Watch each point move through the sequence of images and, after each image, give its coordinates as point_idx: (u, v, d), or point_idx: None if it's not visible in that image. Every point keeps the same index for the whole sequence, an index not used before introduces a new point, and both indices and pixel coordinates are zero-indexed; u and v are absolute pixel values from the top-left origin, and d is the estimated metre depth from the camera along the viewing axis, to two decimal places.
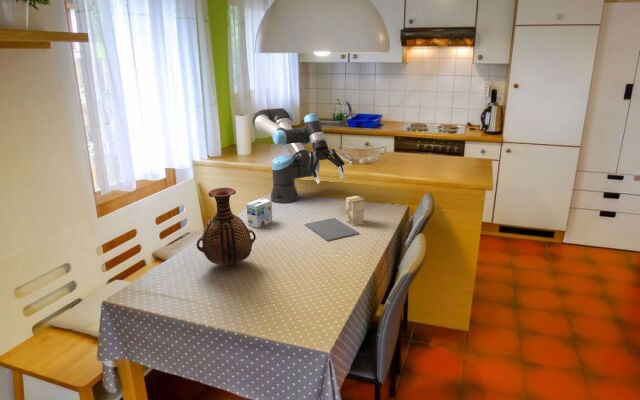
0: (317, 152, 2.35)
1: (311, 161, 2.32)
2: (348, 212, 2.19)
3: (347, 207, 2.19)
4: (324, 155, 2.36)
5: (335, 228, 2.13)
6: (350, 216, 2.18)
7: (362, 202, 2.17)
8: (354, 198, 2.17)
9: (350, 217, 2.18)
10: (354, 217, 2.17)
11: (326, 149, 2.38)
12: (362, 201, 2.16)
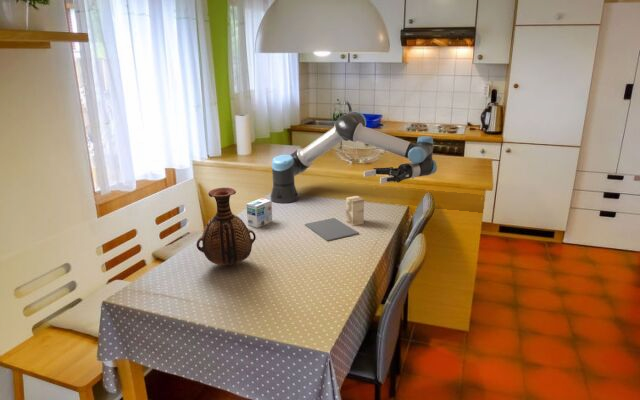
0: None
1: None
2: (348, 212, 2.19)
3: (347, 207, 2.19)
4: None
5: (335, 228, 2.13)
6: (350, 216, 2.18)
7: (362, 202, 2.17)
8: (354, 198, 2.17)
9: (350, 217, 2.18)
10: (354, 217, 2.17)
11: None
12: (362, 201, 2.16)
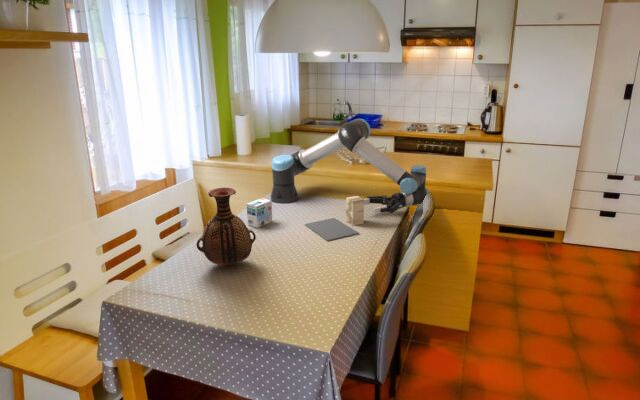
0: None
1: None
2: (348, 212, 2.19)
3: (347, 207, 2.19)
4: None
5: (335, 228, 2.13)
6: (350, 216, 2.18)
7: (362, 202, 2.17)
8: (354, 198, 2.17)
9: (350, 217, 2.18)
10: (354, 217, 2.17)
11: None
12: (362, 201, 2.16)
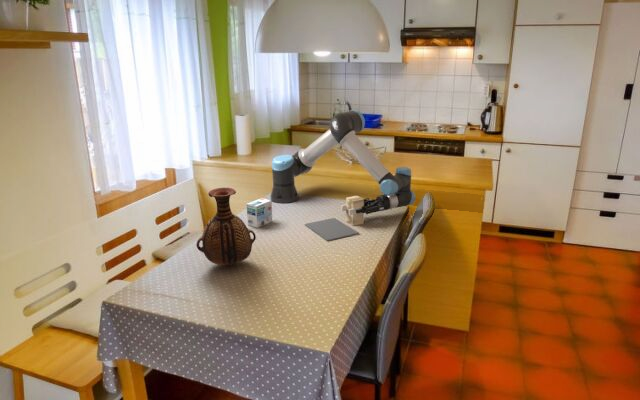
0: None
1: None
2: (348, 212, 2.19)
3: (347, 207, 2.19)
4: None
5: (335, 228, 2.13)
6: (350, 216, 2.18)
7: (362, 202, 2.17)
8: (354, 198, 2.17)
9: (350, 217, 2.18)
10: (354, 217, 2.17)
11: None
12: (362, 201, 2.16)
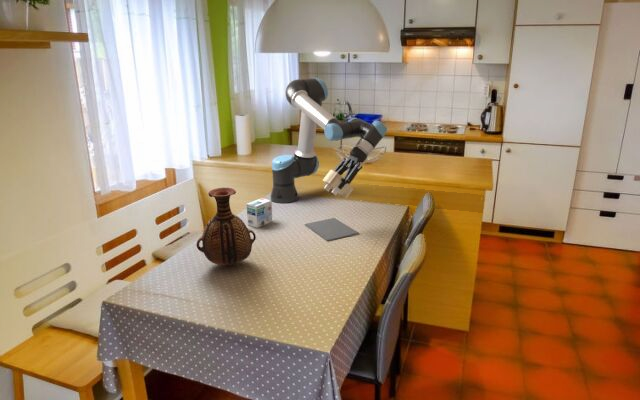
0: None
1: None
2: None
3: (330, 186, 2.09)
4: None
5: (335, 228, 2.13)
6: None
7: (338, 176, 2.04)
8: (329, 177, 2.05)
9: (338, 193, 2.09)
10: (341, 192, 2.07)
11: None
12: (338, 175, 2.04)
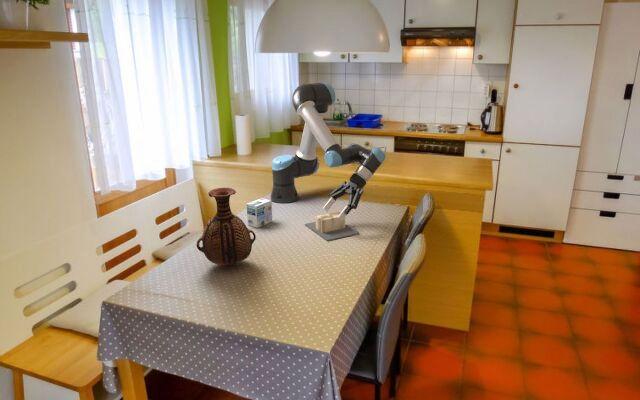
0: None
1: None
2: None
3: None
4: None
5: None
6: None
7: (325, 221, 2.07)
8: (319, 225, 2.09)
9: None
10: (337, 228, 2.11)
11: None
12: (323, 221, 2.07)
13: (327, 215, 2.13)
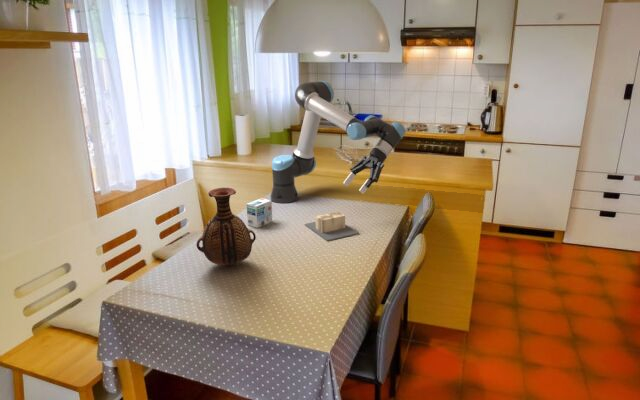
0: None
1: None
2: None
3: None
4: None
5: None
6: None
7: (325, 221, 2.07)
8: (319, 225, 2.09)
9: None
10: (337, 228, 2.11)
11: None
12: (323, 221, 2.07)
13: (327, 215, 2.13)
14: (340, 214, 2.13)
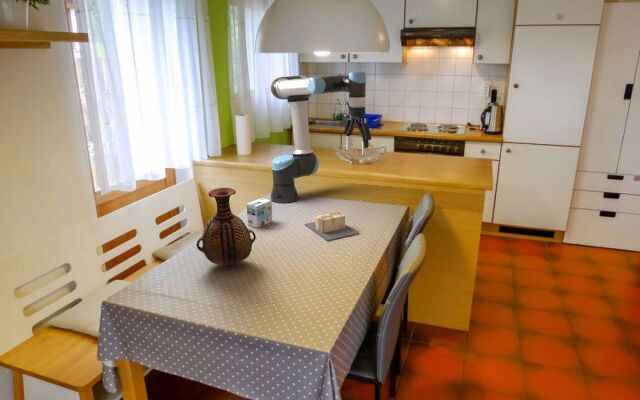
0: None
1: None
2: None
3: None
4: None
5: None
6: None
7: (325, 221, 2.07)
8: (319, 225, 2.09)
9: None
10: (337, 228, 2.11)
11: None
12: (323, 221, 2.07)
13: (327, 215, 2.13)
14: (340, 214, 2.13)
